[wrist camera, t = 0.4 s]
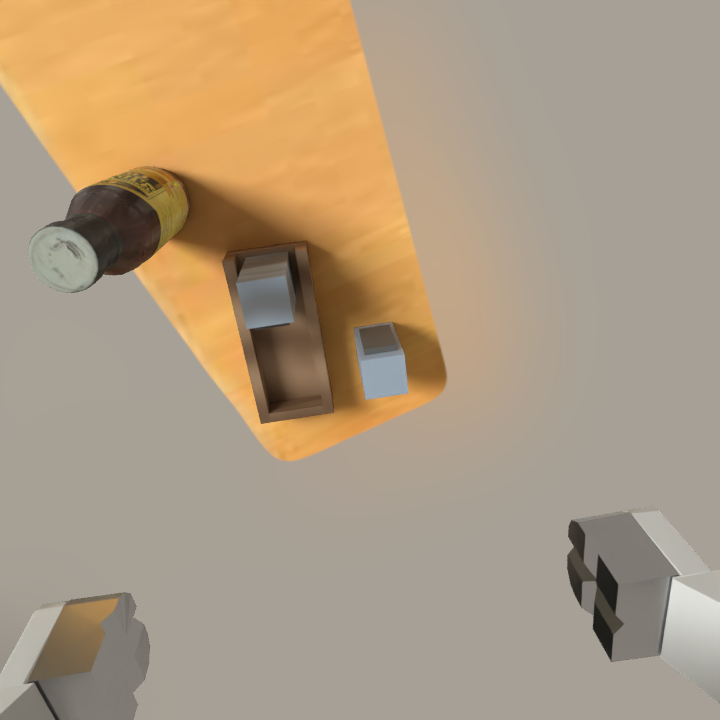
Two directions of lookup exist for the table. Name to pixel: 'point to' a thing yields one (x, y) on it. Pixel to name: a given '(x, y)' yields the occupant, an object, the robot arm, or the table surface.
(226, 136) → the table surface
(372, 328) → the blue grey rectangular block
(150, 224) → the sauce bottle
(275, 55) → the table surface
